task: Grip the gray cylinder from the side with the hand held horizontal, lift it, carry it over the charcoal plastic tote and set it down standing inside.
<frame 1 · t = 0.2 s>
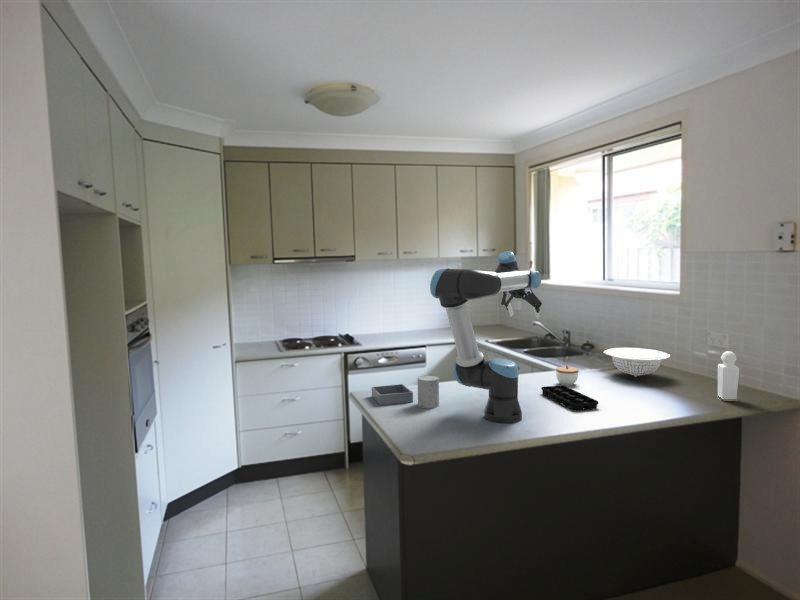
hand: (525, 315, 258), 35 cm above the counter, tool tilted 35°, fingers open, 13 cm apart
gray cylinder: (428, 405, 234), on the counter
tote: (391, 399, 244), on the counter
egg carton: (568, 402, 237), on the counter
colander: (635, 377, 278), on the counter
lidded jar: (566, 384, 266), on the counter
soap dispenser: (726, 400, 235), on the counter
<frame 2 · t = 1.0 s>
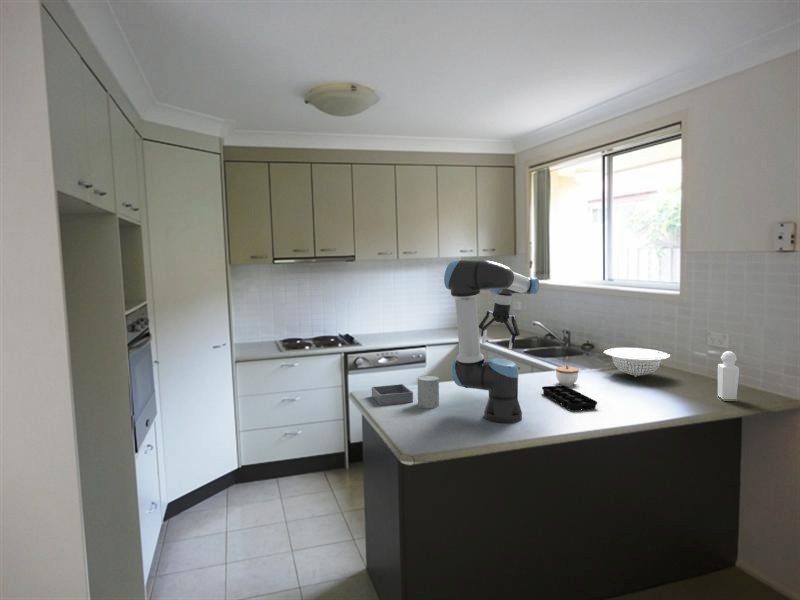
hand: (496, 346, 258), 21 cm above the counter, tool pointing down, fingers open, 13 cm apart
nothing on the counter moved.
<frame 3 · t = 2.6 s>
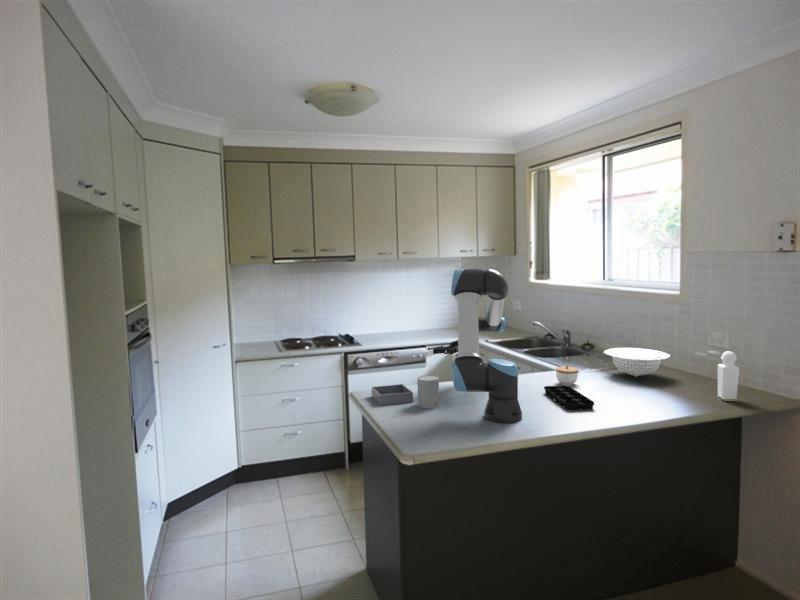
hand: (438, 356, 240), 20 cm above the counter, tool horizontal, fingers open, 13 cm apart
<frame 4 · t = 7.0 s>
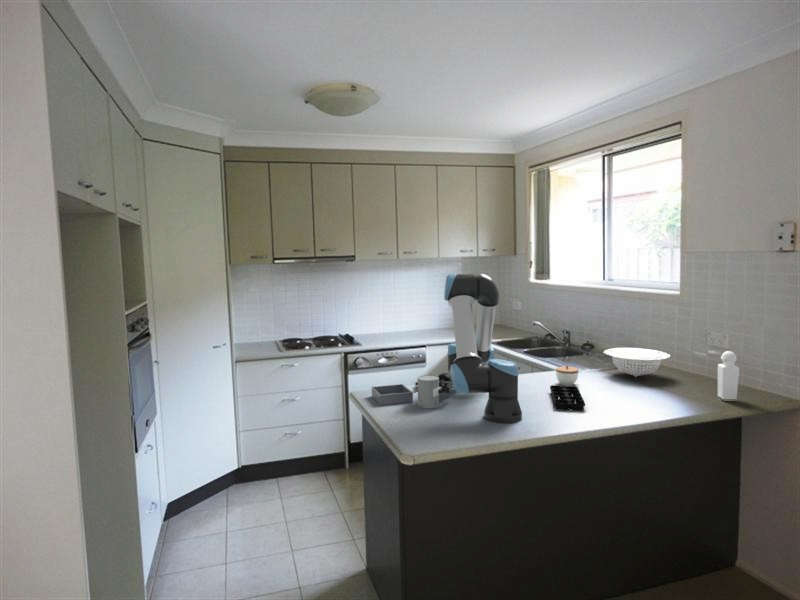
hand: (423, 391, 229), 7 cm above the counter, tool horizontal, fingers closed on gray cylinder, 9 cm apart
gray cylinder: (428, 405, 234), on the counter, touching gripper
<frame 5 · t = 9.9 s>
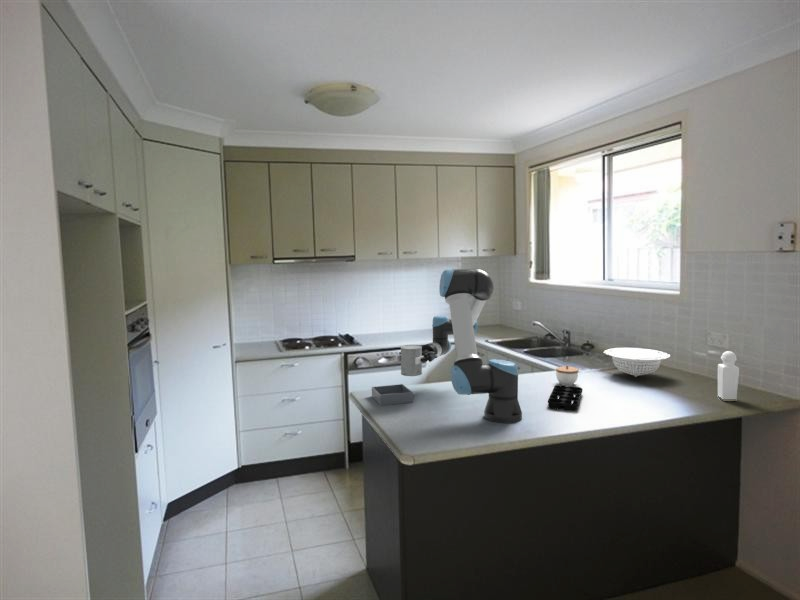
hand: (406, 360, 235), 20 cm above the counter, tool horizontal, fingers closed on gray cylinder, 9 cm apart
gray cylinder: (411, 374, 239), point 12 cm above the counter, touching gripper
when the fingers open (9 cm above the counter, at t = 13.0 s): gray cylinder drops 1 cm, resting on tote.
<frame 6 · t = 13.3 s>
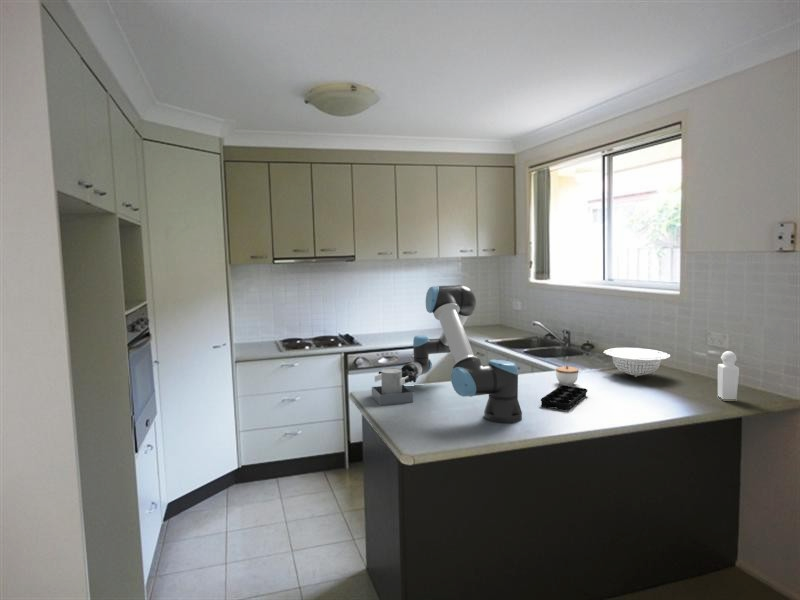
hand: (387, 380, 240), 9 cm above the counter, tool horizontal, fingers open, 13 cm apart
gray cylinder: (392, 397, 244), point 1 cm above the counter, touching tote
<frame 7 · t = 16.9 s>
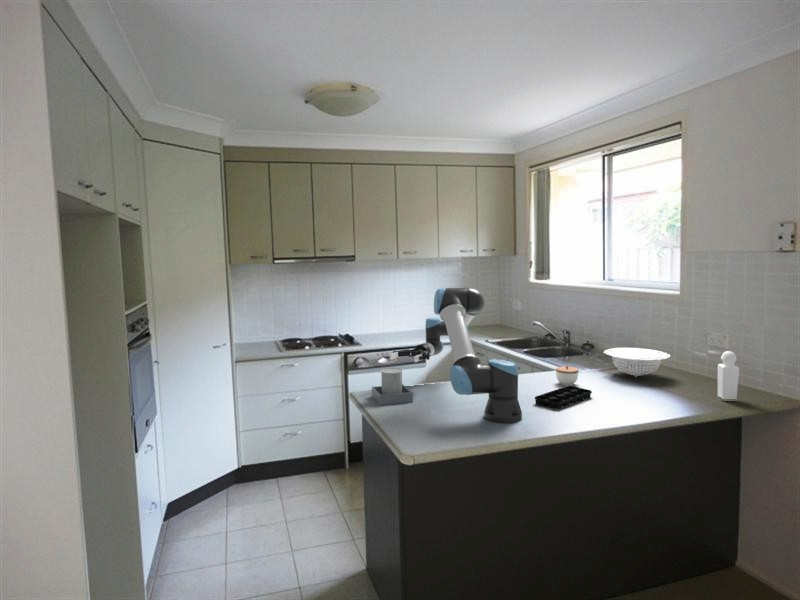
hand: (402, 358, 250), 17 cm above the counter, tool horizontal, fingers open, 13 cm apart
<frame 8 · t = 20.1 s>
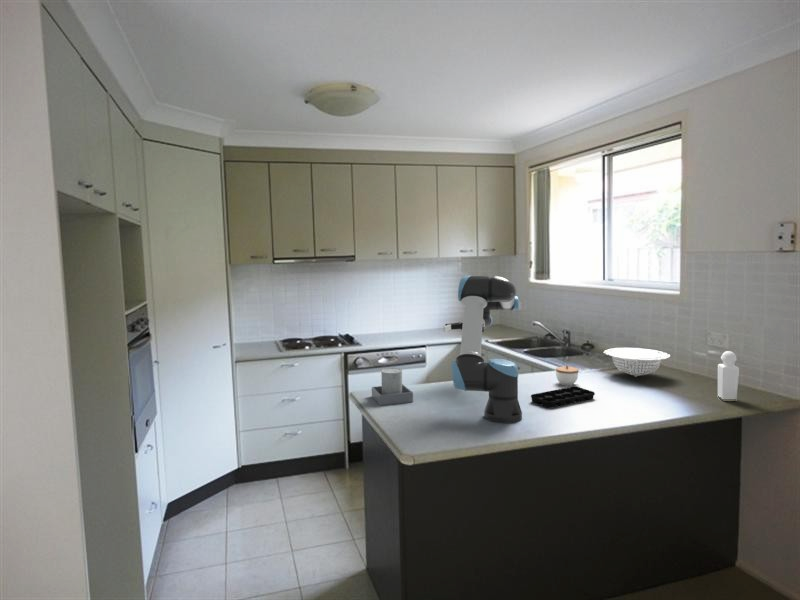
hand: (457, 330, 251), 30 cm above the counter, tool horizontal, fingers open, 13 cm apart
at the end: gray cylinder inside the target area on the tote (0.1 cm from its centre), point 0.8 cm above the tote's base; gray cylinder tilted 0°; the gripper is holding nothing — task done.
